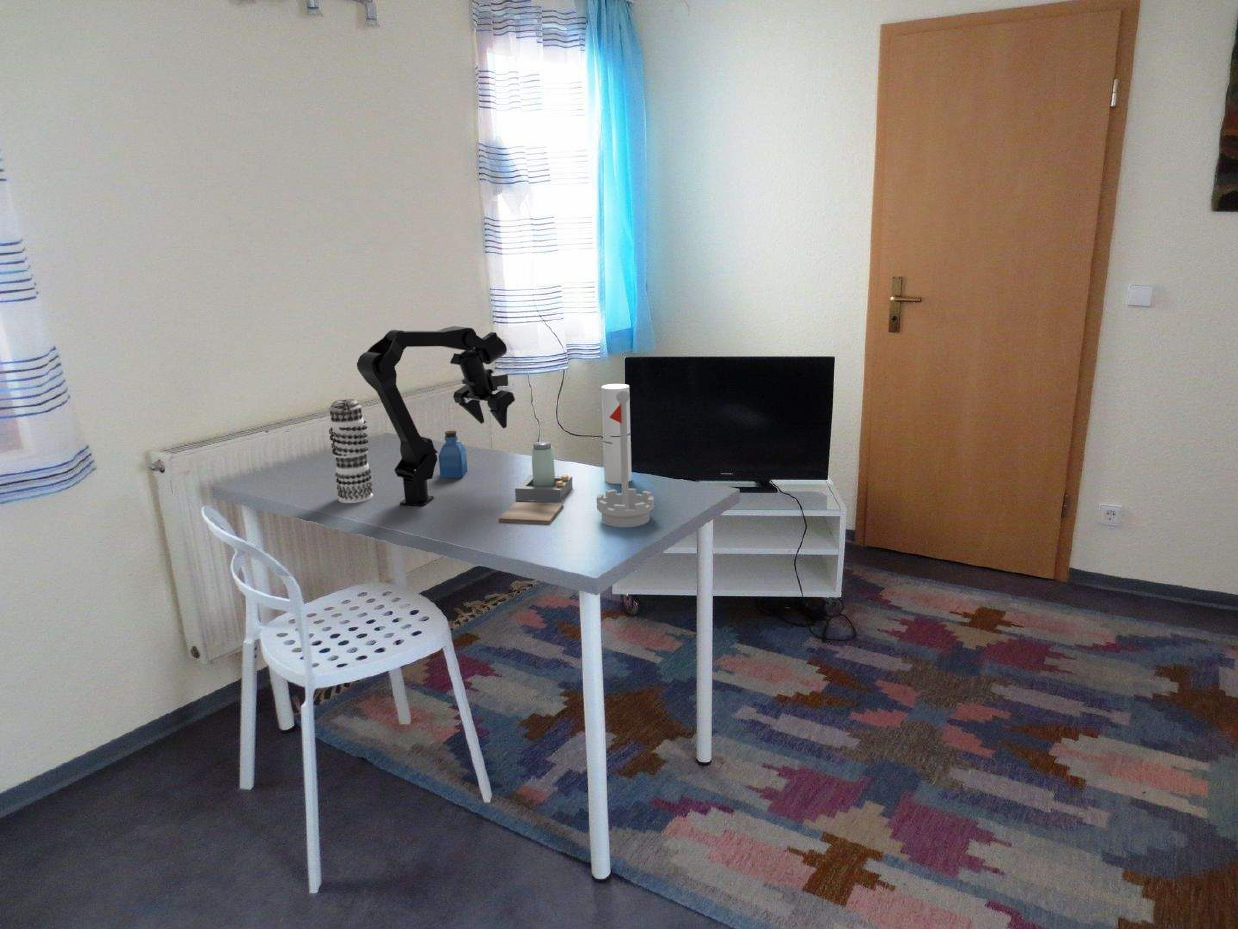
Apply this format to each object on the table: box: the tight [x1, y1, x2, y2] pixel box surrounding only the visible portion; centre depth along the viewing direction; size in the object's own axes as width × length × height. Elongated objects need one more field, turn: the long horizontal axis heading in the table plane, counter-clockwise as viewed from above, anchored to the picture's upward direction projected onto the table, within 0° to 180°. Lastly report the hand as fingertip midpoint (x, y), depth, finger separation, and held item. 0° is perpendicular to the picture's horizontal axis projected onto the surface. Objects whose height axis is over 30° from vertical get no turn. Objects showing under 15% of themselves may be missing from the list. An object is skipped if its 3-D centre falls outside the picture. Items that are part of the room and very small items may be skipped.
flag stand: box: [596, 390, 655, 528], centre depth 191 cm, size 13×13×30 cm
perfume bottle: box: [438, 430, 468, 479], centre depth 233 cm, size 6×6×12 cm
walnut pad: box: [498, 501, 564, 525], centre depth 200 cm, size 12×12×1 cm
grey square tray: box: [514, 474, 573, 503], centre depth 215 cm, size 12×12×4 cm
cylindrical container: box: [601, 383, 632, 485], centre depth 222 cm, size 7×7×25 cm
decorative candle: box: [327, 398, 374, 504], centre depth 213 cm, size 9×9×25 cm
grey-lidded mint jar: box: [530, 441, 556, 487], centre depth 213 cm, size 6×6×13 cm
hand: (493, 425), depth 226 cm, fingers open, 9 cm apart
